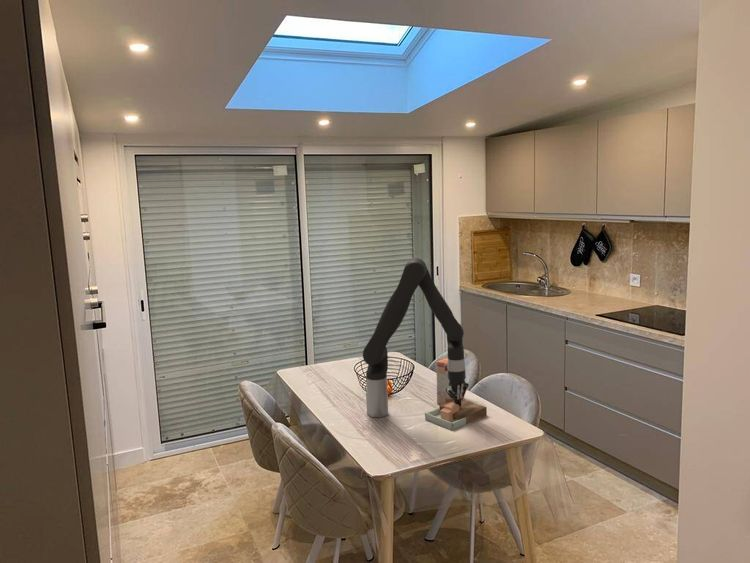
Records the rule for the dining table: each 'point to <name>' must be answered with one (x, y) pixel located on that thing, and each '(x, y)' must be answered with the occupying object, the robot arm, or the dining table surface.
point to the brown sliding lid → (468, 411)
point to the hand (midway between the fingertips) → (458, 406)
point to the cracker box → (443, 382)
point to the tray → (435, 418)
